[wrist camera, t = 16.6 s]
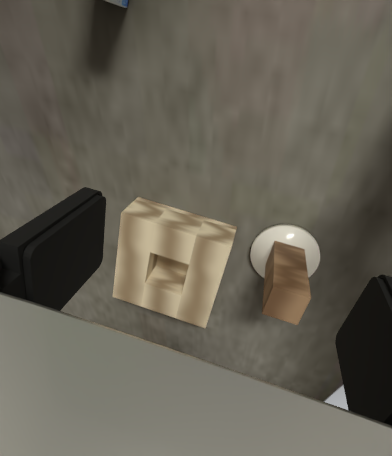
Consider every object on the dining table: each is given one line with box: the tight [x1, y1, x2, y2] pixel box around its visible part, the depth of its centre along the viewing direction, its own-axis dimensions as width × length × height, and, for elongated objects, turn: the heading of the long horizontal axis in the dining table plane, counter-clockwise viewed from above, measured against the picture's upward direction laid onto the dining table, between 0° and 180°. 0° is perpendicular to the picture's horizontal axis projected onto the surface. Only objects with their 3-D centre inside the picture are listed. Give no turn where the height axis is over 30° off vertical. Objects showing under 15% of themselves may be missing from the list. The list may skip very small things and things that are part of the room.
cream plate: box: [250, 224, 320, 278], centre depth 47 cm, size 10×10×1 cm
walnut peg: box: [262, 241, 311, 325], centre depth 42 cm, size 4×4×11 cm
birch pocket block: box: [113, 197, 237, 328], centre depth 49 cm, size 16×16×6 cm
